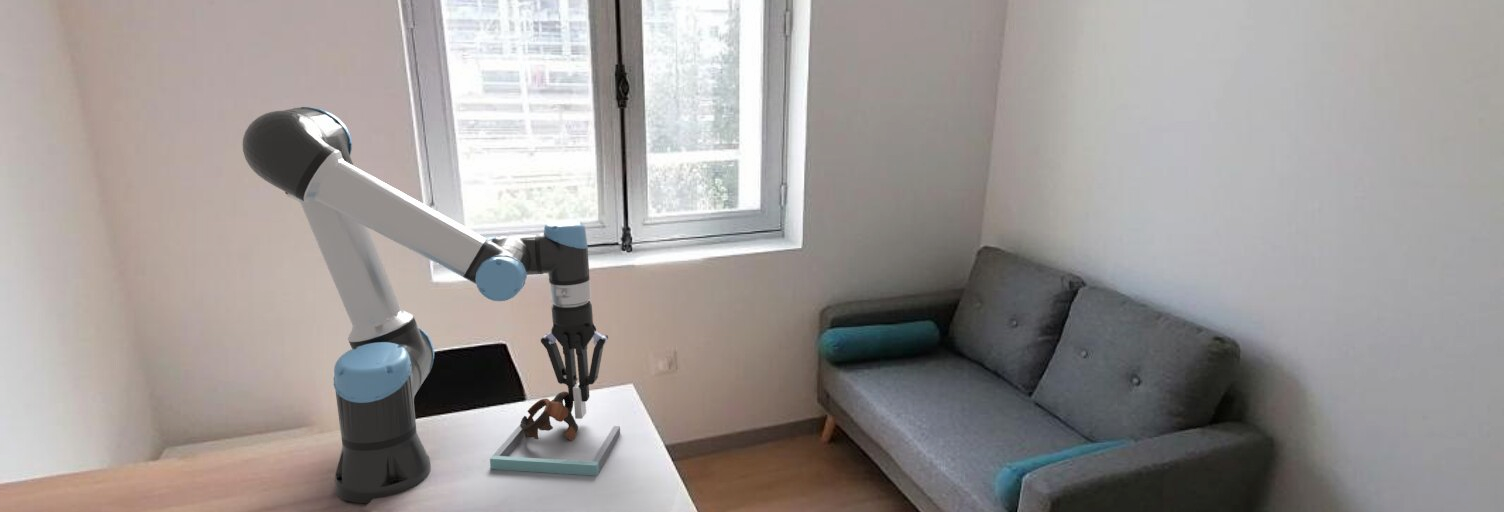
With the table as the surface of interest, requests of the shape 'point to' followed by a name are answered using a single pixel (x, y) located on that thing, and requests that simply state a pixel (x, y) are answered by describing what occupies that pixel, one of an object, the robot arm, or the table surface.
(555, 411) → the brown curved openwork piece
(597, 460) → the bay
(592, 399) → the table surface
